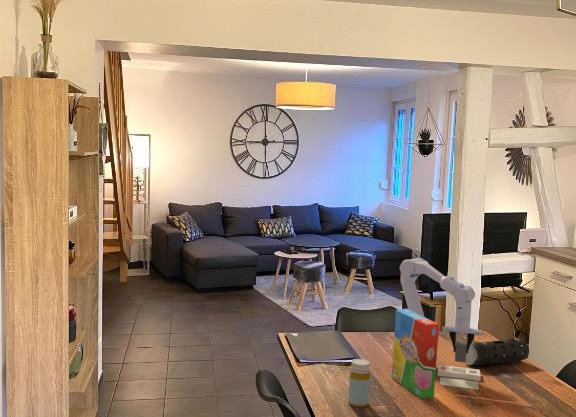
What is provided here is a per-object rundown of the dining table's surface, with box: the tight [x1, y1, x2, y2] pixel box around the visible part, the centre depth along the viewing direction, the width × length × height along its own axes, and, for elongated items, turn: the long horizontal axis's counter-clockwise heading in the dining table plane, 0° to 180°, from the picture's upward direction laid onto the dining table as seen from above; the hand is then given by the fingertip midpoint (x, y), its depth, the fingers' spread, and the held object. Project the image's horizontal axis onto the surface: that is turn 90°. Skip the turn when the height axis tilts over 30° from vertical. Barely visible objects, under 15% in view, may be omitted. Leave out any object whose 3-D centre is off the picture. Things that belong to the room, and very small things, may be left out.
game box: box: [391, 308, 440, 399], centre depth 225 cm, size 21×6×27 cm, turn 22°
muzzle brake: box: [465, 337, 530, 367], centre depth 254 cm, size 10×28×10 cm, turn 112°
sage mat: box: [439, 376, 480, 391], centre depth 230 cm, size 14×8×1 cm, turn 75°
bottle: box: [347, 358, 371, 408], centre depth 208 cm, size 7×7×15 cm
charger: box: [454, 340, 467, 364], centre depth 236 cm, size 4×4×7 cm
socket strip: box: [437, 364, 482, 382], centre depth 239 cm, size 16×7×3 cm, turn 75°
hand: (460, 351), depth 236 cm, fingers closed on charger, 4 cm apart
